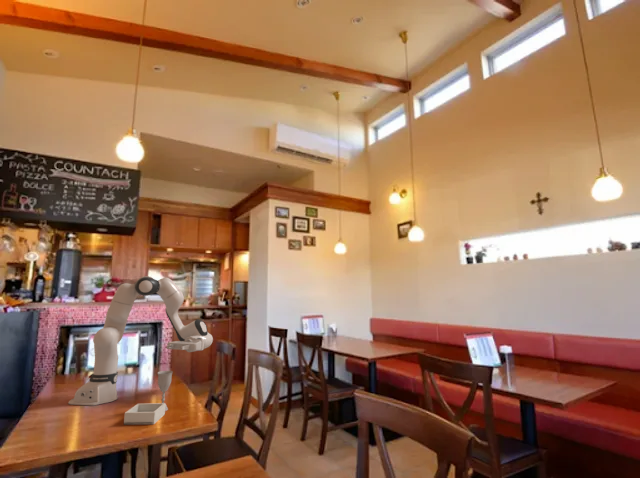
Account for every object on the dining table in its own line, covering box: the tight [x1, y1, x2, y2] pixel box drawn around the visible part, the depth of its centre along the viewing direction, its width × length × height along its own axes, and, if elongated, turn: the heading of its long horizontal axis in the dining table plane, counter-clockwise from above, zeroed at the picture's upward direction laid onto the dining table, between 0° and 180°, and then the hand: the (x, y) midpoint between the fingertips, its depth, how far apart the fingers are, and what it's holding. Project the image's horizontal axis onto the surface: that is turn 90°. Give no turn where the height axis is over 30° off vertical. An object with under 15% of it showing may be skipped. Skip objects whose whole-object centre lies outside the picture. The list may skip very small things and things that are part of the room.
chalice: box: [157, 370, 174, 412], centre depth 174 cm, size 7×7×18 cm
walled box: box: [123, 402, 167, 426], centre depth 160 cm, size 13×13×5 cm
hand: (174, 347), depth 190 cm, fingers open, 8 cm apart
